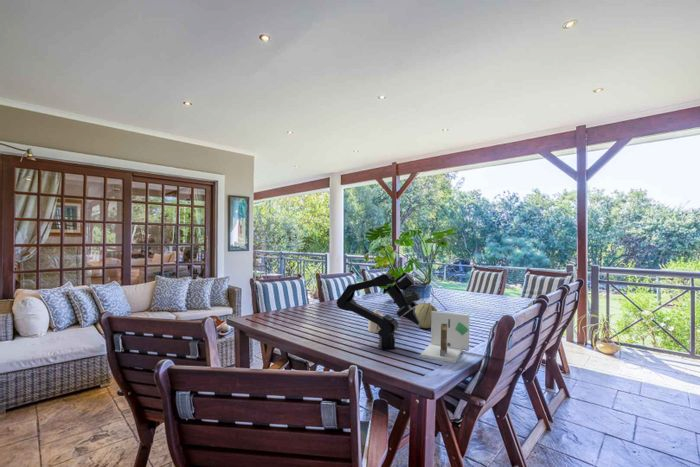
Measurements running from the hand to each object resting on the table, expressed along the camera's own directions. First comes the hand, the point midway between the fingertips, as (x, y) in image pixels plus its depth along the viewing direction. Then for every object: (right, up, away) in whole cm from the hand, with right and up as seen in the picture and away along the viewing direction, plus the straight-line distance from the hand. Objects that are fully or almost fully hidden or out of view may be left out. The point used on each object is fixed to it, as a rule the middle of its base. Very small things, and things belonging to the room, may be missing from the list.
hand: (418, 323), depth 159 cm
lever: (+10, -11, -6) cm, 16 cm away
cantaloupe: (+13, -14, +45) cm, 48 cm away
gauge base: (+12, -13, -2) cm, 18 cm away
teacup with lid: (-16, -14, +37) cm, 42 cm away
